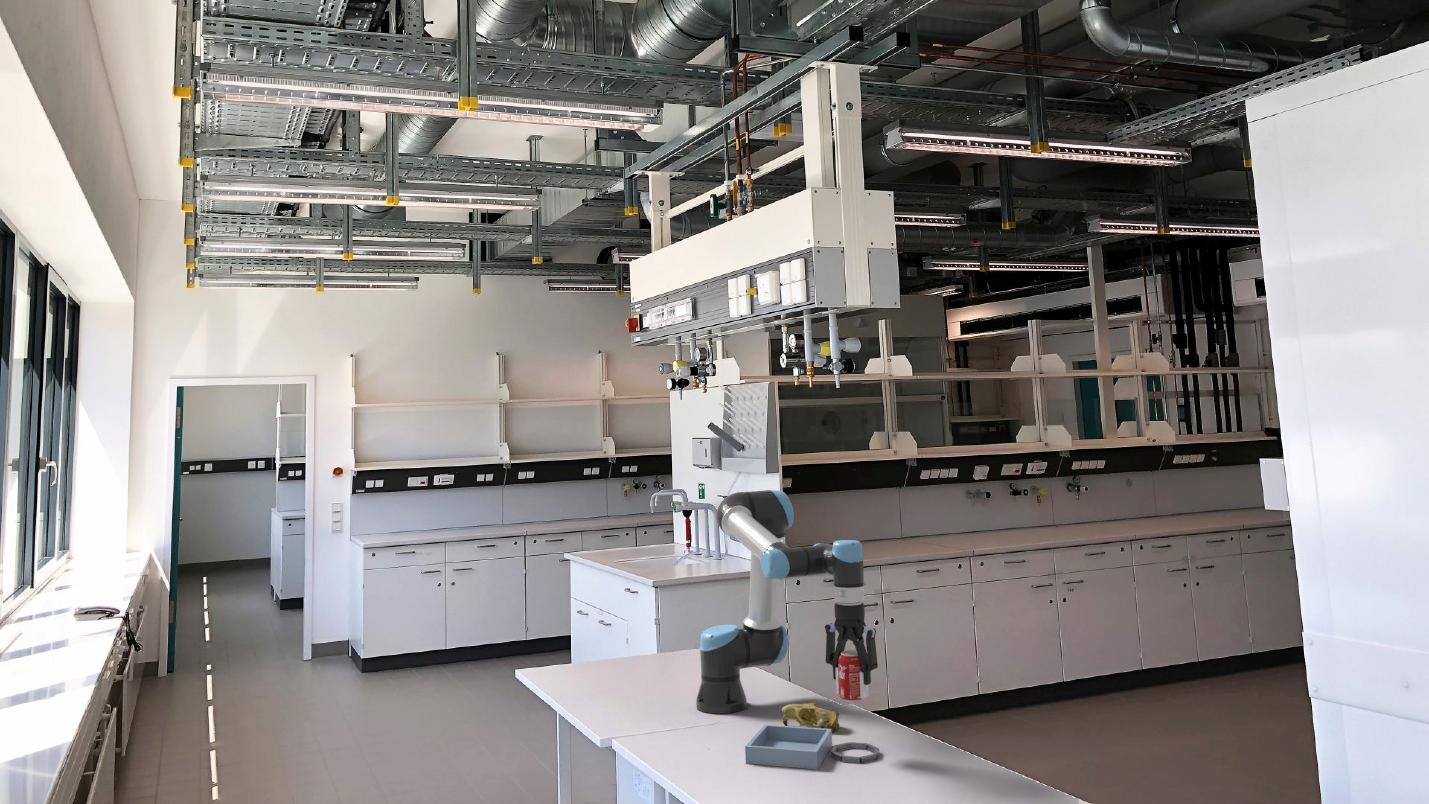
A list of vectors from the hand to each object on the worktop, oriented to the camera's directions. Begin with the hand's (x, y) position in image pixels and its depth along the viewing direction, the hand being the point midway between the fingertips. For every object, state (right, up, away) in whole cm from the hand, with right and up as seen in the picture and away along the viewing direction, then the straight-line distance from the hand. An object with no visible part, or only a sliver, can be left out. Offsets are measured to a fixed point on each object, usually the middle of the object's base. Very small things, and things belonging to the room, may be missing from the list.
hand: (852, 694), depth 233 cm
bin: (-16, -15, +1) cm, 22 cm away
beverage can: (0, -2, 0) cm, 2 cm away
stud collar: (+1, -15, -1) cm, 15 cm away
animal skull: (-7, -16, +22) cm, 28 cm away
